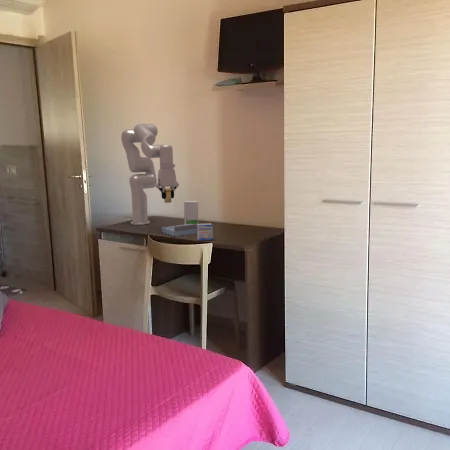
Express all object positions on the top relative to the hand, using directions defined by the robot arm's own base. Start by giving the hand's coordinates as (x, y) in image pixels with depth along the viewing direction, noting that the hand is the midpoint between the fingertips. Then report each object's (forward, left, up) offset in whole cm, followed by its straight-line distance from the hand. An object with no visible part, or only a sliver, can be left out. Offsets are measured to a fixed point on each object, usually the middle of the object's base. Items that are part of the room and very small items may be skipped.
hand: (168, 198), depth 300 cm
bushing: (0, 0, -2) cm, 2 cm away
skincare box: (-9, +20, -20) cm, 30 cm away
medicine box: (+32, +6, -20) cm, 38 cm away
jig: (+7, +6, -20) cm, 22 cm away
